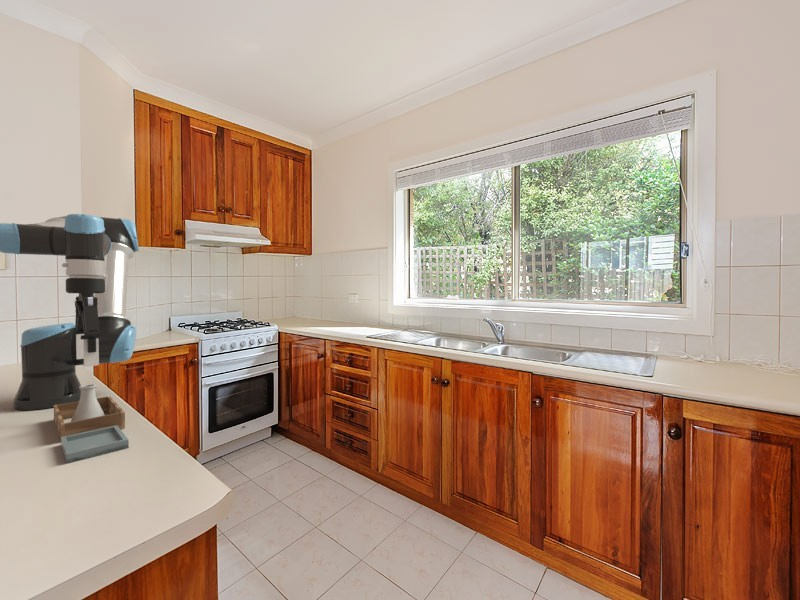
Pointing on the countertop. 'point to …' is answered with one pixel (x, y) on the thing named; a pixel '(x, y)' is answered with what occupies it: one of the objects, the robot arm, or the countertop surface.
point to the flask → (87, 404)
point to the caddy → (92, 423)
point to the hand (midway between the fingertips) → (87, 362)
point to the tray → (93, 443)
